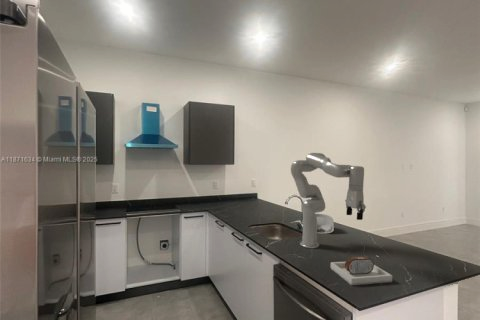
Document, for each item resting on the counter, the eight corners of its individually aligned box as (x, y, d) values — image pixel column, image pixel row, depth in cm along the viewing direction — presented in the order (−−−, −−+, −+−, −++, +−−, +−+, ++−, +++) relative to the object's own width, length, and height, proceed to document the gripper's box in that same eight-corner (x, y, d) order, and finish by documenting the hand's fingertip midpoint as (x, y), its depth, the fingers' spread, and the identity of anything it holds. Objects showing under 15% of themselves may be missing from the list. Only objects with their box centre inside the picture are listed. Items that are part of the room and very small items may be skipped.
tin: (370, 271, 127) (370, 255, 127) (374, 273, 124) (375, 257, 124) (344, 272, 124) (344, 256, 124) (348, 275, 121) (348, 259, 121)
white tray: (330, 268, 131) (330, 262, 131) (366, 265, 135) (366, 260, 135) (351, 285, 113) (351, 278, 113) (392, 282, 117) (392, 275, 117)
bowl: (328, 227, 212) (329, 214, 212) (334, 234, 193) (334, 219, 193) (305, 226, 215) (305, 213, 215) (308, 232, 196) (308, 218, 196)
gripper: (341, 185, 146) (339, 213, 146) (359, 190, 129) (357, 221, 129) (352, 185, 147) (351, 213, 147) (372, 190, 130) (370, 221, 130)
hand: (354, 217), depth 138 cm, fingers open, 9 cm apart
